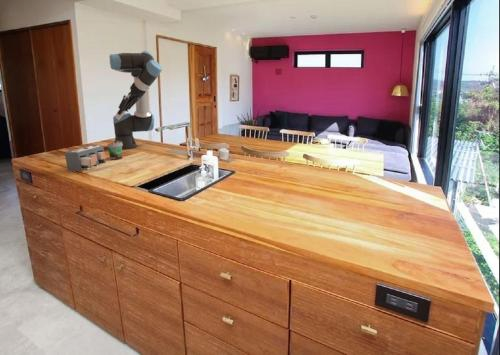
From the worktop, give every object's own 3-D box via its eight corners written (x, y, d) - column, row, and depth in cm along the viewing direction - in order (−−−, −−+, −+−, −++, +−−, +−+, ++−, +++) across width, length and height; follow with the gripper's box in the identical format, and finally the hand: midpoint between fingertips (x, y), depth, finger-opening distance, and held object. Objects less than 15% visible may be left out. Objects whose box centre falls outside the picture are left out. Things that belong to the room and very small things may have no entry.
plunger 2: (105, 158, 189) (104, 152, 188) (101, 159, 185) (100, 153, 184) (94, 157, 191) (93, 151, 190) (90, 158, 187) (89, 152, 186)
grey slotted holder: (105, 162, 191) (103, 145, 188) (80, 171, 174) (77, 152, 171) (93, 161, 193) (90, 144, 190) (67, 170, 176) (64, 151, 173)
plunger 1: (96, 164, 175) (95, 157, 174) (91, 165, 172) (90, 159, 171) (84, 163, 177) (83, 156, 176) (79, 165, 174) (78, 158, 173)
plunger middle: (97, 160, 183) (96, 154, 182) (92, 162, 179) (91, 155, 178) (86, 160, 185) (85, 153, 184) (81, 161, 181) (80, 155, 180)
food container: (119, 161, 195) (117, 144, 192) (109, 161, 196) (107, 144, 193) (127, 156, 207) (125, 140, 204) (117, 156, 207) (115, 140, 204)
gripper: (137, 92, 167) (113, 124, 176) (152, 91, 179) (129, 121, 188) (127, 81, 166) (104, 114, 176) (142, 81, 178) (119, 111, 188)
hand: (117, 117), depth 182 cm, fingers closed
